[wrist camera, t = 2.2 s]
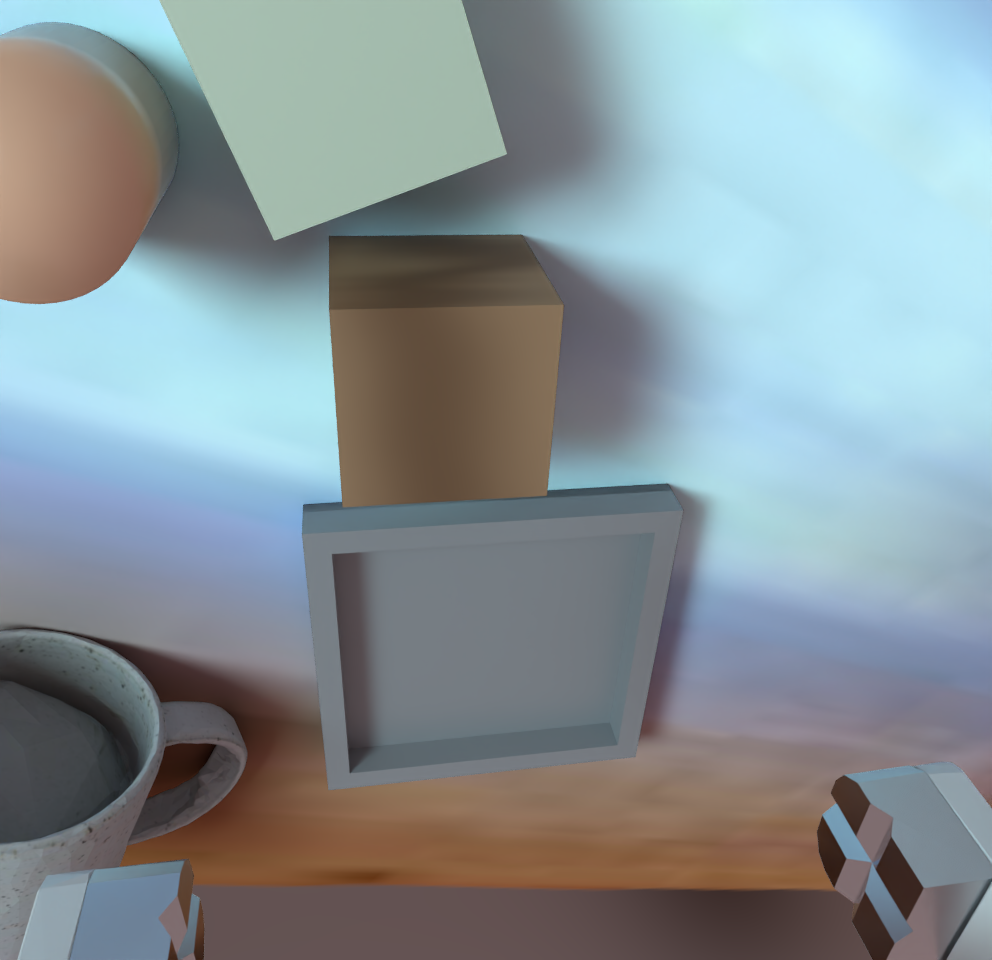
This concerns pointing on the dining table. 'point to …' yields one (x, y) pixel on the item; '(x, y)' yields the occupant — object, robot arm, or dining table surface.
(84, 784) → the ceramic mug
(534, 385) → the walnut block
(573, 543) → the tray
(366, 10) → the green block
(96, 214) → the terracotta cylinder
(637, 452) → the dining table surface
